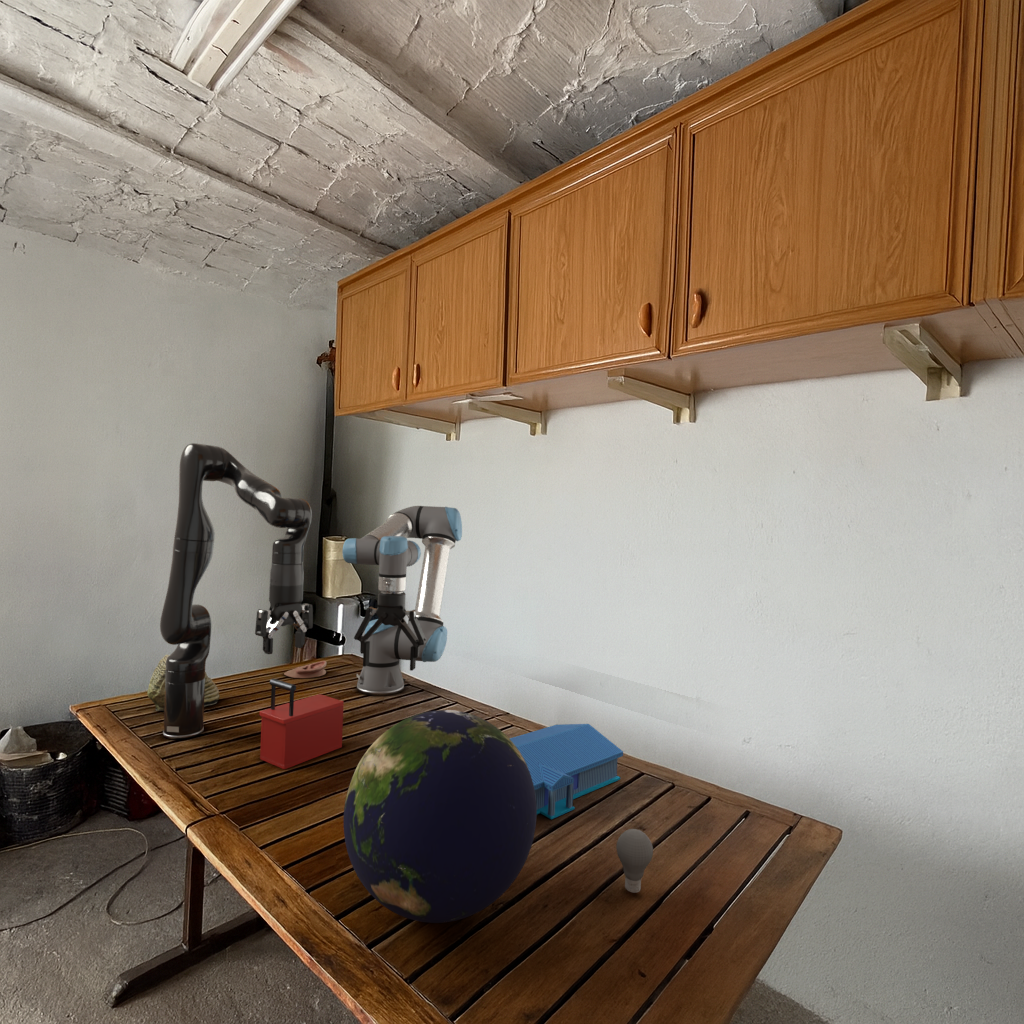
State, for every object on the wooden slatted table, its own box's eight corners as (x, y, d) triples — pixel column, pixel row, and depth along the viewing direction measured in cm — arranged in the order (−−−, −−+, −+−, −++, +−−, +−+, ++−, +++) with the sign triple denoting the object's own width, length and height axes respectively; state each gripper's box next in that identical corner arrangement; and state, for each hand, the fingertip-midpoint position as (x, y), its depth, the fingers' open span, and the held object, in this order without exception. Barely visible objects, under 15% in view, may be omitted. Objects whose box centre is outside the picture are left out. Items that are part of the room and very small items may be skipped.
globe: (296, 934, 92) (304, 728, 91) (406, 836, 119) (412, 678, 119) (484, 1004, 80) (494, 770, 80) (557, 878, 108) (565, 703, 108)
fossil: (144, 707, 182) (145, 655, 182) (212, 696, 194) (213, 647, 194) (151, 716, 175) (153, 662, 175) (221, 703, 188) (223, 653, 188)
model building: (505, 839, 120) (507, 787, 120) (430, 791, 138) (432, 746, 138) (631, 784, 146) (633, 741, 146) (555, 749, 164) (556, 711, 164)
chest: (284, 769, 146) (285, 723, 146) (260, 759, 151) (261, 715, 151) (342, 747, 160) (343, 705, 160) (318, 738, 165) (319, 697, 165)
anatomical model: (279, 664, 218) (297, 657, 229) (279, 676, 218) (296, 668, 229) (314, 668, 215) (331, 660, 227) (314, 680, 216) (330, 671, 227)
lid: (283, 724, 145) (284, 688, 145) (259, 715, 150) (260, 680, 150) (343, 705, 160) (344, 672, 160) (319, 697, 165) (320, 665, 165)
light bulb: (610, 879, 108) (613, 822, 108) (644, 879, 109) (647, 822, 109) (619, 902, 102) (622, 840, 102) (655, 901, 103) (658, 840, 103)
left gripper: (270, 586, 142) (267, 658, 142) (321, 581, 154) (318, 648, 154) (250, 583, 146) (247, 653, 146) (301, 578, 158) (298, 643, 158)
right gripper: (344, 590, 175) (341, 667, 175) (431, 596, 171) (428, 674, 171) (354, 587, 182) (352, 660, 183) (438, 592, 178) (435, 667, 179)
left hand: (284, 650), depth 150 cm, fingers open, 8 cm apart
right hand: (389, 667), depth 177 cm, fingers open, 13 cm apart
